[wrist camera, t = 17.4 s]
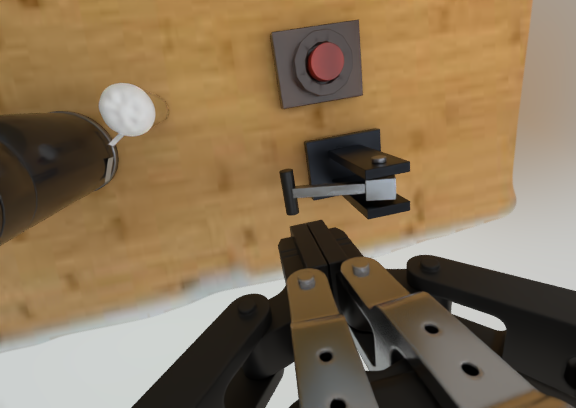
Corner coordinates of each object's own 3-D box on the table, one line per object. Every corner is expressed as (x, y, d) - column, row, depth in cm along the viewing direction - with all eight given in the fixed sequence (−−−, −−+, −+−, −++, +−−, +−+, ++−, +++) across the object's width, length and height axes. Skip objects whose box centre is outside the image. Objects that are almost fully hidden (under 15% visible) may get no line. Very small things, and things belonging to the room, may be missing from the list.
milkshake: (127, 126, 32) (80, 135, 23) (138, 81, 31) (94, 71, 22) (166, 141, 34) (138, 155, 24) (179, 98, 32) (154, 95, 23)
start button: (309, 83, 31) (313, 82, 29) (305, 48, 30) (308, 44, 28) (340, 79, 31) (345, 77, 30) (337, 43, 30) (342, 39, 28)
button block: (281, 108, 34) (285, 109, 31) (269, 35, 32) (273, 27, 28) (357, 95, 35) (369, 94, 32) (353, 23, 32) (365, 14, 29)
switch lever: (289, 208, 33) (284, 217, 30) (282, 168, 31) (276, 174, 29) (393, 203, 29) (396, 212, 27) (392, 157, 28) (395, 163, 26)
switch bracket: (311, 198, 39) (341, 239, 27) (303, 141, 36) (334, 159, 24) (378, 184, 40) (435, 218, 28) (375, 128, 37) (439, 139, 25)
